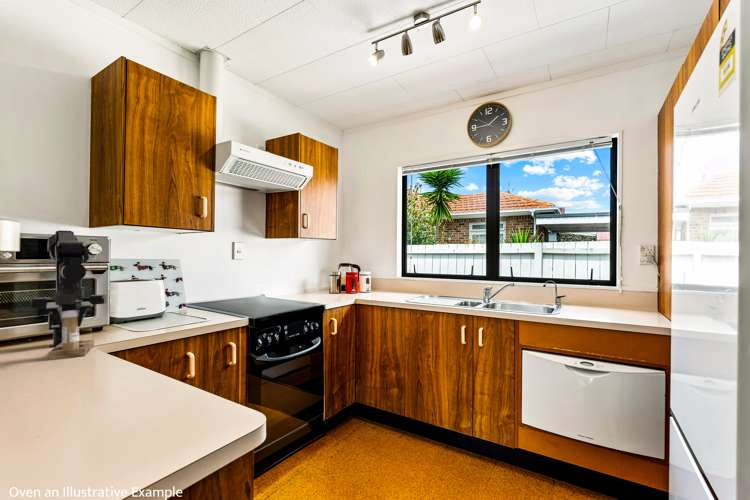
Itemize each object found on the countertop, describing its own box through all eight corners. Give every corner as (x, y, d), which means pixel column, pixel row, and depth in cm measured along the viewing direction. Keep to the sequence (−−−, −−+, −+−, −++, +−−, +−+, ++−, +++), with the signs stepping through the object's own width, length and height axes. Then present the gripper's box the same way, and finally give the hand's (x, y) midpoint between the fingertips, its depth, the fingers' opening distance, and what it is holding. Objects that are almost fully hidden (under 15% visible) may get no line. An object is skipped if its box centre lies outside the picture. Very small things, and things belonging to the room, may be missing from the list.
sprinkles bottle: (78, 352, 118) (78, 311, 118) (60, 354, 116) (60, 312, 116) (80, 349, 122) (80, 309, 122) (62, 351, 120) (62, 310, 120)
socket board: (94, 346, 131) (94, 339, 131) (84, 355, 117) (84, 348, 117) (61, 349, 126) (61, 342, 126) (48, 360, 113) (48, 352, 113)
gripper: (23, 282, 108) (23, 335, 107) (101, 280, 117) (101, 328, 117) (36, 280, 117) (35, 328, 117) (106, 278, 126) (106, 322, 126)
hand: (70, 327), depth 119 cm, fingers closed on sprinkles bottle, 4 cm apart
